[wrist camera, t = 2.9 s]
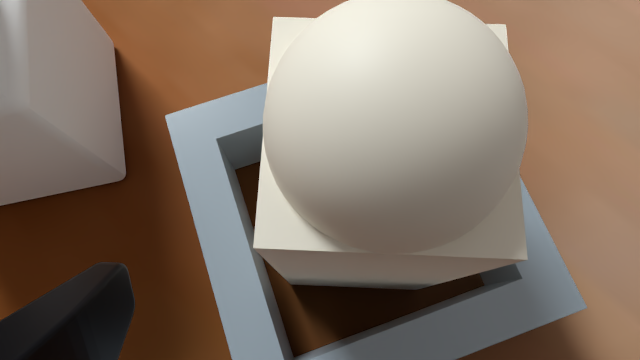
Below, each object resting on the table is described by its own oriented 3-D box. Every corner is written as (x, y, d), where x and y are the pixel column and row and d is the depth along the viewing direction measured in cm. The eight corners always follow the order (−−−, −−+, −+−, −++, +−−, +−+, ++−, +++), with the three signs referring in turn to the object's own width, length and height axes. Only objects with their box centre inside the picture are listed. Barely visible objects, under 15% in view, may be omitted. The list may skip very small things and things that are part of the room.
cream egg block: (416, 289, 18) (615, 235, 6) (290, 284, 18) (224, 220, 6) (413, 170, 19) (567, -74, 7) (297, 166, 19) (256, -83, 7)
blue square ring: (268, 413, 16) (254, 438, 13) (192, 150, 19) (164, 115, 16) (536, 309, 17) (587, 307, 14) (423, 74, 20) (443, 27, 17)
